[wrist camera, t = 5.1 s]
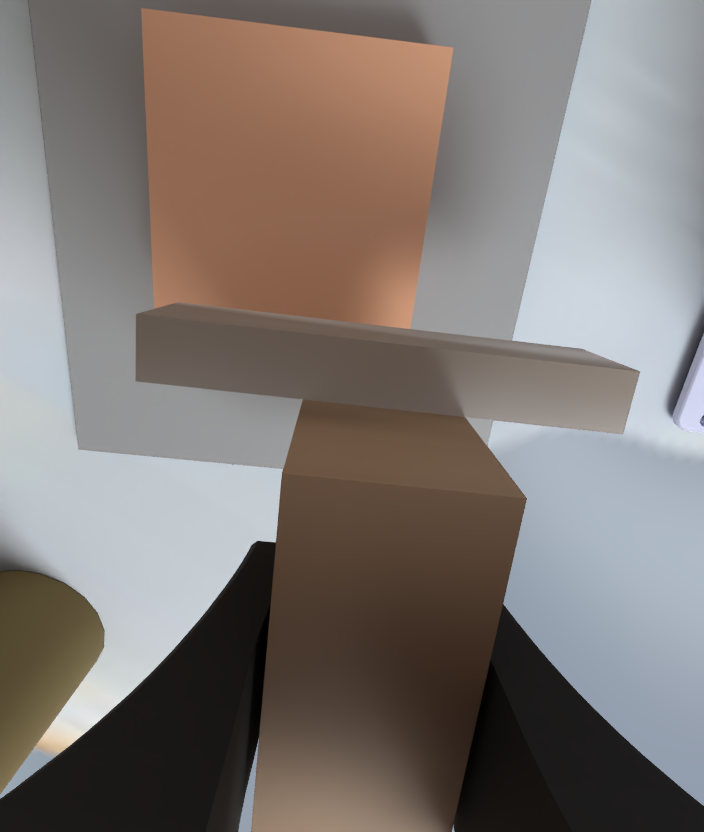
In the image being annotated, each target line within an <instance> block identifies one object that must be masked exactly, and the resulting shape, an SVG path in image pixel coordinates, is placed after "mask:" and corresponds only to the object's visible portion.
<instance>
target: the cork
mask: <svg viewBox="0 0 704 832" xmlns="http://www.w3.org/2000/svg"><path fill="white" fill-rule="evenodd" d="M103 648H104V629H103V626H102V623H101V621H100V618H99V616H98V613H97V612H96V611H95V610H94V609H93V607H92V606H91V605H90V604H89V603H88V601H87V600H86V599H85V598H84V597H83V596H82V595H80V594H79V593H77V592H76V591H74V590H73V589H72V588H70V587H69V586H67V585H66V584H64V583H62V582H59V581H57V580H55V579H52V578H50V577H47V576H45V575H42V574H37V573H31V572H25V571H19V570H14V571H2V572H0V794H1V793H2V791H3V790H4V788H5V787H6V786H7V784H8V783H9V782H10V780H11V779H12V777H13V776H14V775H15V773H16V772H17V770H18V769H19V768H20V766H21V765H22V763H23V762H24V761H25V759H26V758H27V757H28V755H29V754H30V752H31V751H32V750H33V748H34V747H35V746H36V744H37V743H38V741H39V740H40V739H41V737H42V736H43V734H44V733H45V732H46V730H47V729H48V728H49V726H50V725H51V723H52V722H53V721H54V719H55V718H56V716H57V715H58V714H59V712H60V711H61V710H62V708H63V707H64V705H65V704H66V703H67V701H68V700H69V699H70V697H71V696H72V694H73V693H74V692H75V690H76V689H77V687H78V686H79V685H80V683H81V682H82V681H83V679H84V678H85V676H86V675H87V674H88V672H89V671H90V669H91V668H92V667H93V665H94V664H95V663H96V661H97V659H98V657H99V655H100V654H101V652H102V650H103Z"/></svg>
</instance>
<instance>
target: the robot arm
mask: <svg viewBox="0 0 704 832" xmlns="http://www.w3.org/2000/svg"><path fill="white" fill-rule="evenodd" d="M703 415H704V334H703V336H702V339H701V341H700V344H699V347H698V349H697V352H696V355H695V357H694V360H693V362H692V365H691V368H690V370H689V373H688V376H687V378H686V381H685V383H684V386H683V389H682V391H681V394H680V397H679V399H678V402H677V404H676V407H675V410H674V412H673V421H674V423H675V424H676V425H677V426H678V427H679V428H681V429H682V430H684V431H688V432H698V433H704V421H703V422H700V419H701V418H702V416H703ZM275 549H276V543H274V542H263V541H257V542H256V543H254V544H253V545H252V546H251V547H250V549H249V551H248V553H247V555H246V556H245V558H244V560H243V561H242V563H241V565H240V566H239V568H238V569H237V571H236V572H235V574H234V575H233V577H232V578H231V579H230V581H229V582H228V584H227V585H226V586H225V588H224V589H223V590H222V592H221V593H220V594H219V596H218V597H217V598H216V600H215V601H214V602H213V603H212V605H211V606H210V607H209V609H208V610H207V611H206V613H205V614H204V615H203V616H202V617H201V619H200V620H199V621H198V622H197V623H196V624H195V626H194V627H193V628H192V629H191V630H190V631H189V632H188V634H187V635H186V636H185V637H184V638H183V639H182V640H181V642H180V643H179V644H178V645H177V646H176V647H175V649H174V650H173V651H172V652H171V653H170V654H169V655H168V656H167V657H166V658H165V659H164V660H163V661H162V662H161V663H160V664H159V665H158V667H157V668H156V669H155V670H154V671H153V672H152V673H151V674H150V675H149V676H148V677H147V678H146V679H144V680H143V681H142V682H141V683H140V684H139V685H138V686H137V687H136V688H135V689H134V690H133V691H132V692H131V693H130V694H129V695H128V696H127V697H126V698H125V699H123V700H122V701H121V702H120V703H119V704H118V705H117V706H116V707H114V708H113V709H112V710H111V711H110V712H109V713H108V714H107V715H106V716H104V717H103V718H102V719H101V720H100V721H99V722H98V723H97V724H95V725H94V726H93V727H92V728H91V729H90V730H88V731H87V732H86V733H85V734H84V735H82V736H81V737H80V738H79V739H78V740H76V741H75V742H74V743H73V744H72V745H70V746H69V747H68V748H66V749H65V750H64V751H63V752H61V753H60V754H59V755H57V756H56V757H55V758H53V759H52V760H51V761H50V762H48V763H47V764H46V765H44V766H43V767H42V768H41V769H39V770H38V771H37V772H35V773H34V774H33V775H32V776H30V777H29V778H28V779H26V780H25V781H24V782H22V783H21V784H20V785H19V786H17V787H16V788H15V789H13V790H12V791H11V792H10V793H8V794H6V795H5V796H4V797H2V798H1V799H0V832H238V829H239V823H240V817H241V812H242V807H243V803H244V798H245V792H246V788H247V785H248V780H249V776H250V772H251V768H252V764H253V760H254V756H255V752H256V747H257V743H258V739H259V734H260V722H261V711H262V699H263V688H264V676H265V665H266V653H267V642H268V630H269V619H270V607H271V596H272V584H273V573H274V561H275ZM453 825H454V831H455V832H704V806H703V805H701V804H700V803H699V802H698V801H697V800H695V799H694V798H693V797H692V796H690V795H689V794H688V793H687V792H685V791H684V790H683V789H682V788H681V787H680V786H678V785H677V784H676V783H675V782H674V781H673V780H671V779H670V778H669V777H668V776H667V775H665V774H664V773H663V772H662V771H661V770H660V769H659V768H657V767H656V766H655V765H654V764H653V763H652V762H650V761H649V760H648V759H647V758H646V757H645V756H643V755H642V754H641V753H640V752H639V751H638V750H637V749H636V748H635V747H634V746H632V745H631V744H630V743H629V742H628V741H627V740H626V739H625V738H624V737H623V736H622V735H620V734H619V733H618V732H617V731H616V730H615V729H614V728H613V727H612V726H611V725H610V724H609V723H608V722H607V721H606V720H605V719H604V718H603V717H602V716H601V715H600V714H599V713H598V712H597V711H595V709H594V708H593V707H592V706H591V705H590V704H589V703H588V702H587V701H586V700H585V699H584V698H583V697H582V696H581V695H580V694H579V693H578V692H577V691H576V690H575V689H574V688H573V687H572V686H571V685H570V683H569V682H568V681H567V680H566V679H565V678H564V677H563V676H562V675H561V673H560V672H559V671H558V670H557V669H556V668H555V667H554V666H553V665H552V663H551V662H550V661H549V660H548V659H547V658H546V657H545V655H544V654H543V653H542V652H541V651H540V650H539V648H538V647H537V646H536V645H535V644H534V643H533V641H532V640H531V639H530V638H529V636H528V635H527V634H526V633H525V631H524V630H523V629H522V628H521V626H520V625H519V624H518V623H517V621H516V620H515V619H514V618H513V616H512V615H511V614H510V612H509V611H508V610H507V608H506V607H505V606H504V605H503V606H502V610H501V615H500V619H499V624H498V628H497V633H496V637H495V641H494V646H493V650H492V655H491V659H490V664H489V668H488V672H487V677H486V681H485V686H484V690H483V695H482V699H481V704H480V708H479V712H478V717H477V721H476V726H475V730H474V735H473V739H472V743H471V748H470V752H469V757H468V761H467V766H466V770H465V774H464V779H463V783H462V788H461V792H460V797H459V801H458V805H457V810H456V814H455V819H454V823H453Z"/></svg>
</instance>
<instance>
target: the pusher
mask: <svg viewBox="0 0 704 832" xmlns="http://www.w3.org/2000/svg"><path fill="white" fill-rule="evenodd" d="M639 373H640V371H637V370H635V369H632V368H629V367H627V366H624V365H622V364H619V363H617V362H614V361H611V360H609V359H606V358H604V357H601V356H599V355H596V354H593V353H591V352H588V351H586V350H583V349H578V348H569V347H561V346H552V345H544V344H535V343H526V342H518V341H509V340H500V339H492V338H483V337H475V336H466V335H457V334H449V333H440V332H431V331H423V330H414V329H406V328H397V327H388V326H380V325H371V324H362V323H354V322H345V321H337V320H328V319H319V318H311V317H302V316H293V315H285V314H276V313H268V312H259V311H250V310H242V309H233V308H224V307H216V306H207V305H199V304H190V303H181V302H176V303H173V304H169V305H166V306H162V307H159V308H155V309H152V310H148V311H144V312H141V313H137V314H136V377H135V381H137V382H146V383H155V384H164V385H174V386H183V387H192V388H201V389H210V390H220V391H229V392H238V393H247V394H257V395H266V396H275V397H284V398H293V399H303V400H302V404H301V408H300V411H299V415H298V418H297V422H296V425H295V429H294V433H293V436H292V440H291V443H290V447H289V451H288V454H287V458H286V461H285V465H284V468H283V472H282V480H281V492H280V503H279V515H278V526H277V538H276V549H275V561H274V573H273V584H272V596H271V607H270V619H269V630H268V642H267V653H266V665H265V676H264V688H263V699H262V711H261V722H260V734H259V745H258V757H257V768H256V780H255V791H254V804H253V815H252V826H251V832H452V828H453V823H454V819H455V814H456V810H457V805H458V801H459V797H460V792H461V788H462V783H463V779H464V774H465V770H466V766H467V761H468V757H469V752H470V748H471V743H472V739H473V735H474V730H475V726H476V721H477V717H478V712H479V708H480V704H481V699H482V695H483V690H484V686H485V681H486V677H487V672H488V668H489V664H490V659H491V655H492V650H493V646H494V641H495V637H496V633H497V628H498V624H499V619H500V615H501V610H502V606H503V602H504V597H505V592H506V588H507V584H508V579H509V575H510V570H511V566H512V562H513V557H514V552H515V548H516V544H517V539H518V535H519V530H520V526H521V522H522V517H523V513H524V508H525V504H526V500H527V498H526V497H525V495H524V494H523V493H522V491H521V490H520V489H519V488H518V486H517V485H516V483H515V482H514V481H513V480H512V478H511V477H510V476H509V474H508V473H507V472H506V470H505V469H504V468H503V466H502V465H501V464H500V462H499V461H498V460H497V458H496V457H495V456H494V454H493V453H492V452H491V451H490V449H489V448H488V447H487V445H486V444H485V443H484V441H483V440H482V439H481V437H480V436H479V435H478V433H477V432H476V431H475V429H474V428H473V427H472V425H471V424H470V423H469V422H468V420H467V419H466V418H465V417H468V418H478V419H487V420H496V421H505V422H514V423H524V424H533V425H542V426H551V427H560V428H570V429H579V430H588V431H597V432H607V433H616V434H623V433H624V429H625V425H626V421H627V418H628V414H629V410H630V407H631V403H632V399H633V395H634V392H635V388H636V384H637V381H638V377H639Z"/></svg>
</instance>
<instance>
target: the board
mask: <svg viewBox="0 0 704 832" xmlns="http://www.w3.org/2000/svg"><path fill="white" fill-rule="evenodd" d="M28 3H29V12H30V21H31V29H32V38H33V47H34V56H35V65H36V74H37V83H38V92H39V101H40V110H41V119H42V128H43V137H44V146H45V155H46V164H47V173H48V181H49V190H50V199H51V208H52V217H53V226H54V235H55V244H56V253H57V262H58V271H59V280H60V289H61V298H62V307H63V316H64V324H65V333H66V342H67V351H68V360H69V369H70V378H71V387H72V396H73V405H74V414H75V423H76V432H77V441H78V449H79V450H90V451H100V452H111V453H121V454H132V455H142V456H153V457H163V458H174V459H184V460H195V461H205V462H216V463H226V464H237V465H247V466H258V467H269V468H279V469H283V468H284V465H285V461H286V458H287V454H288V451H289V447H290V443H291V440H292V436H293V433H294V429H295V425H296V422H297V418H298V415H299V411H300V408H301V404H302V400H303V399H293V398H284V397H275V396H266V395H257V394H247V393H238V392H229V391H220V390H210V389H201V388H192V387H183V386H174V385H164V384H155V383H146V382H137V381H135V377H136V314H137V313H141V312H144V311H148V310H152V309H154V296H153V273H152V249H151V226H150V203H149V179H148V156H147V132H146V109H145V86H144V62H143V39H142V15H141V8H145V9H152V10H160V11H168V12H176V13H184V14H192V15H200V16H208V17H216V18H224V19H232V20H239V21H247V22H255V23H263V24H271V25H279V26H287V27H295V28H303V29H311V30H319V31H327V32H334V33H342V34H350V35H358V36H366V37H374V38H382V39H390V40H398V41H406V42H414V43H421V44H429V45H437V46H445V47H453V55H452V61H451V68H450V74H449V81H448V87H447V94H446V100H445V107H444V113H443V120H442V126H441V133H440V139H439V146H438V152H437V159H436V165H435V172H434V178H433V185H432V191H431V198H430V204H429V211H428V217H427V224H426V230H425V237H424V243H423V250H422V257H421V263H420V270H419V276H418V283H417V289H416V296H415V302H414V309H413V315H412V322H411V328H410V329H414V330H423V331H431V332H440V333H449V334H457V335H466V336H475V337H483V338H492V339H500V340H509V341H512V338H513V334H514V330H515V325H516V321H517V317H518V312H519V308H520V304H521V300H522V295H523V291H524V287H525V282H526V278H527V274H528V270H529V265H530V261H531V257H532V253H533V248H534V244H535V240H536V235H537V231H538V227H539V223H540V218H541V214H542V210H543V206H544V201H545V197H546V193H547V188H548V184H549V180H550V176H551V171H552V167H553V163H554V158H555V154H556V150H557V146H558V141H559V137H560V133H561V129H562V124H563V120H564V116H565V111H566V107H567V103H568V99H569V94H570V90H571V86H572V81H573V77H574V73H575V69H576V64H577V60H578V56H579V52H580V47H581V43H582V39H583V34H584V30H585V26H586V22H587V17H588V13H589V9H590V5H591V0H28ZM465 418H466V419H467V420H468V422H469V423H470V424H471V425H472V427H473V428H474V429H475V431H476V432H477V433H478V435H479V436H480V437H481V439H482V440H483V441H484V443H485V444H486V445H488V441H489V436H490V432H491V428H492V424H493V420H487V419H478V418H468V417H465Z"/></svg>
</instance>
